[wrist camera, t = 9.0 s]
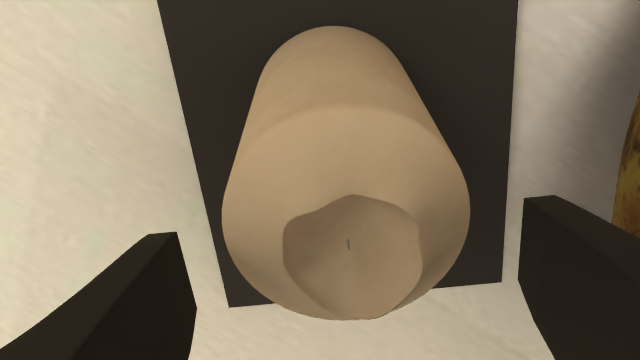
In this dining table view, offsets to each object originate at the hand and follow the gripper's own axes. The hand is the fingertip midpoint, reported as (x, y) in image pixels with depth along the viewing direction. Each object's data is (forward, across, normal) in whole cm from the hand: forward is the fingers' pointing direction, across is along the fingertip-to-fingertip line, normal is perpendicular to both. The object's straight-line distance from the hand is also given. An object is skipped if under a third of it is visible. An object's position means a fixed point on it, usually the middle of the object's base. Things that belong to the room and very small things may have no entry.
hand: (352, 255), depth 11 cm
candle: (+10, 0, 0) cm, 10 cm away
